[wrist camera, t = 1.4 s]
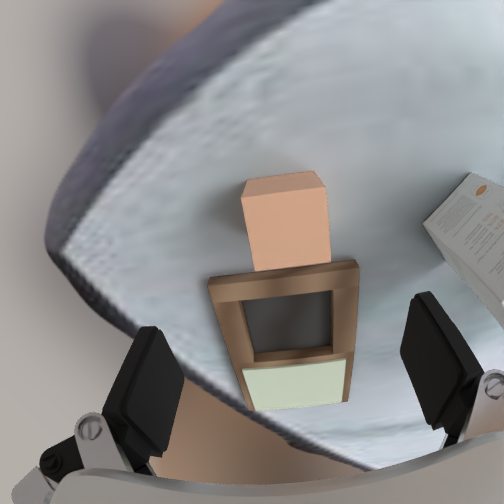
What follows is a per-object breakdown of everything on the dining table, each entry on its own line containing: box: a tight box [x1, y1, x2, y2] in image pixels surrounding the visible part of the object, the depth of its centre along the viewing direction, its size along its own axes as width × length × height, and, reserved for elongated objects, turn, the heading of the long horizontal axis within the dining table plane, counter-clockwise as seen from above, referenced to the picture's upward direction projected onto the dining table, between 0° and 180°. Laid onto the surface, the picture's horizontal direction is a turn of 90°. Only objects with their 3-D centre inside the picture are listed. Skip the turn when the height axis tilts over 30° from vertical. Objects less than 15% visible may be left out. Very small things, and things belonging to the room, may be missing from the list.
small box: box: [423, 172, 504, 329], centre depth 17 cm, size 8×6×13 cm
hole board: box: [207, 260, 359, 411], centre depth 31 cm, size 14×22×2 cm, turn 10°
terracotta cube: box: [241, 171, 331, 271], centre depth 21 cm, size 6×6×6 cm
